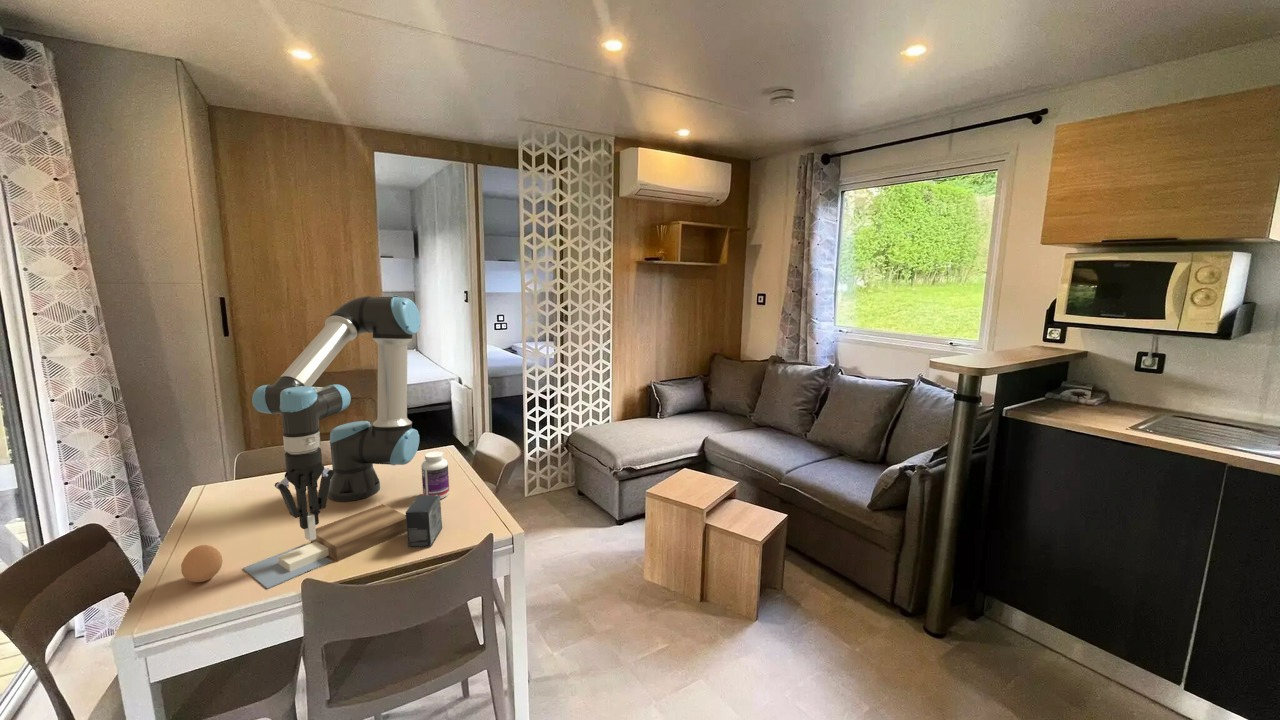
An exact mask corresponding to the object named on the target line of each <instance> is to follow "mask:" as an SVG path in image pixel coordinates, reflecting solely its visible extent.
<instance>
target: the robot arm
mask: <svg viewBox="0 0 1280 720" xmlns="http://www.w3.org/2000/svg"><path fill="white" fill-rule="evenodd" d="M420 327H421V315H420V311H419V309H418V307H417V305H416V304H415V302H414V301H413V300H411V299H410V298H407V297H400V296H367V295H366V296H359V297H354V298H353V299H350V300H349V301H347V302H345V303H343V304H342V305H341V306H339V307H337V308H336V309H335V310H334V311H333V312H332V313H331V314H330V315H328V317H327V318H326V319H325V321H324V327H323V328H322V329H321V330H320V332H319V333H317V335H315V337H314V338H313V339H312V340H311V341H310V343H309V344H308V345H307V346H306V347H305V348H304V349H303V351H302V352H301V353H300V354H299V355H298V356H297V357H296V358H295V360H294V361H292V363H290V365H289V366H288V367H287V369H286V370H285V371H284V372H283V373H282V374H281V375H280V377H278V379H277V380H276V381H275V382H274V383H273V384H263V385H261V386H258V387H257V388H256V389H255V390H254V391H253V394H252V398H251V402H252V406H253V407H254V409H255V410H256V411H257V412H259V413H262V414H269V415H280V416H281V425H282V435H283V436H282V438H283V439H282V440H283V450H284V451H285V453H284V460H285V461H284V462H285V471H286V472H285V474H284V478H282V480H281V481H280V482H279V481H277V482H275V483H274V487H275V488H276V489H278V491H280V494H281V496H282V500H283V501H284V504H285V507H286V509H287V511H288V513H289V515H290V516H292V517H293V518H295V519H296V518H299V527H300V528H301V529H302V530H304V538H305V539H306V540H308V541H309V542H311V541H312V540H315V539H316V528H317V527H316V526H317V525H319V523H320V521H319V514H320V513H321V510H323V509H325V508H326V507H327V502H328V498H329V499H330V500H331V501H335V502H353V501H358V500H363V499H366V498H368V497H371V496H373V495H375V494H377V493H378V492H379V491H380V490H381V481H380V479H379V476H378V475H377V474H378V473H377V472H376V470H375V468H374V465H387V466H388V465H390V466H398V465H399V466H400V465H401V466H402V465H403V466H405V465H407V464H409V463H410V462H411V461H412V460H413V459H414V457H415V456H416V455H417V454H416V453H417V451H418V449H419V444H420V434H419V431H418V430H417V429H415V428H413V427H412V426H413V421H412V420H410V419H409V418H408V346H409V343H411V341H413V335H415V334H417V333H418V332H419V331H420ZM364 333H365V334H366V333H368V334H369V333H370V334H371V333H372V339H373V341H374V342H375V343H376V344H377V418H376V420H374V421H373V423H372V424H371V422H370V421H367V420H358V421H353V422H348V423H343V424H341V425H338V426H336V427H334V428H332V429H331V430H330V433H329V444H330V458H331V467H332V469H330V468H325V466H324V464H323V458H322V455H323V454H322V448H321V434H320V420H323V419H325V418H328V417H330V416H333V415H337V414H339V413H341V412H342V411H345V410H346V409H348V407H349V406H350V404H351V401H352V400H351V399H352V397H351V392H350V391H349V390H348V388H346V387H345V386H344V385H341V384H337V383H335V384H329V385H326V386H313V385H314V384H315V383H316V381H317V380H318V379H319V378H320V377H321V375H322V374H323V373H324V371H325V370H326V369H327V368H328V367H329V366H330V364H331V363H332V361H334V359H335V358H337V355H338V354H340V352H341V351H342V349H344V347H345V346H346V345H347V343H348V342H351V341H353V340H355V339H356V337H358V336H359V335H361V334H364ZM319 478H320V482H319V488H318V480H319ZM289 483H291V485H293V487H294V489H295V493H296V494H295V495H296V502H295V500H294V497H293V495H292V492H291V490H290V489H289V488H290V484H289ZM306 491H307V492H306ZM307 499H308V501H307ZM308 509H309V511H308Z"/></svg>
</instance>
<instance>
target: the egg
mask: <svg viewBox="0 0 1280 720" xmlns="http://www.w3.org/2000/svg"><path fill="white" fill-rule="evenodd" d="M222 565H223V557H222V554H221V552H220V551H219V550H218V549H217V548H216V547H214V546H212V545H209V544H208V545H207V544H201V545H197V546H195V547H193V548H192V549H190V550H189V551H188V552H187V554H185V556H184V558H183V559H182V563H181V570H180V571H181V574H182V576H183V577H184V578H185V579H186V580H187V581H190V582H192V583H204V582H207V581H209V580H212V579H213V578H214V577H215V576H216V575H217V574H218V573H219V571H220V570H221V568H222Z"/></svg>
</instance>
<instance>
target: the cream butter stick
mask: <svg viewBox="0 0 1280 720" xmlns="http://www.w3.org/2000/svg"><path fill="white" fill-rule="evenodd" d="M324 557H326V558H327V557H330V556H329V551H328V548H327V547H325V546H324V545H322V544H320V543H318V542H317V541H316V542H313V543H311V542H310V543H309V544H306V546H303V547H301V548H298V549H296V550H293V551H291V552H288V553H286V554H283V555H281V556H278V563H279V565H281V566H282V567H284V568H285V569H287V570H288V571H290V572H291V571H294V570H296V569H298V568H301V567H303V566H305V565H308V564H310V563H312V562H315V561H317V560H319V559H322V558H324Z"/></svg>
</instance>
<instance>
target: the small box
mask: <svg viewBox="0 0 1280 720" xmlns="http://www.w3.org/2000/svg"><path fill="white" fill-rule="evenodd" d="M441 503H442V502H441V499H440V495H423V494H421V495H418V496H417V497H416V498H415V500H414V501H413V502H412V503H411V505H410V506H409V507H408V508H407V510H406V511H405V515H406V524H407V532H406V534H407V535H406V536H407V548H409V549H411V548H413V549H414V548H431V547H432V546H433V544H434V543H435V541H436V539H437V538H438V537H439V534H441V531H442V530H443V521H442V520H443V519H442V506H441V505H442V504H441Z"/></svg>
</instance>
